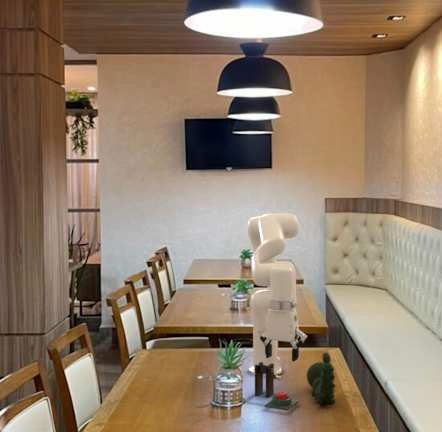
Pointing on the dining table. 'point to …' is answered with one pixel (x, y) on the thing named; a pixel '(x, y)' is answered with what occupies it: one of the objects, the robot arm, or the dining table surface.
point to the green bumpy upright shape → (322, 380)
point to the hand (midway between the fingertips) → (281, 358)
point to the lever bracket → (268, 380)
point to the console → (281, 403)
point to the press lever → (263, 371)
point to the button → (281, 395)
